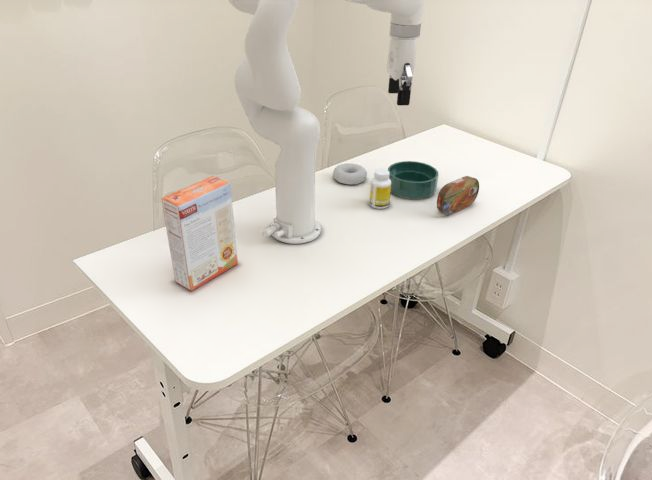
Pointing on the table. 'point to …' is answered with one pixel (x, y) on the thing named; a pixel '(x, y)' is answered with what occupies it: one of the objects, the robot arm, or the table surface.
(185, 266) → the cracker box
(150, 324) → the table surface
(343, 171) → the donut
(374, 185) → the supplement bottle
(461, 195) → the tin
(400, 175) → the teal round bowl
